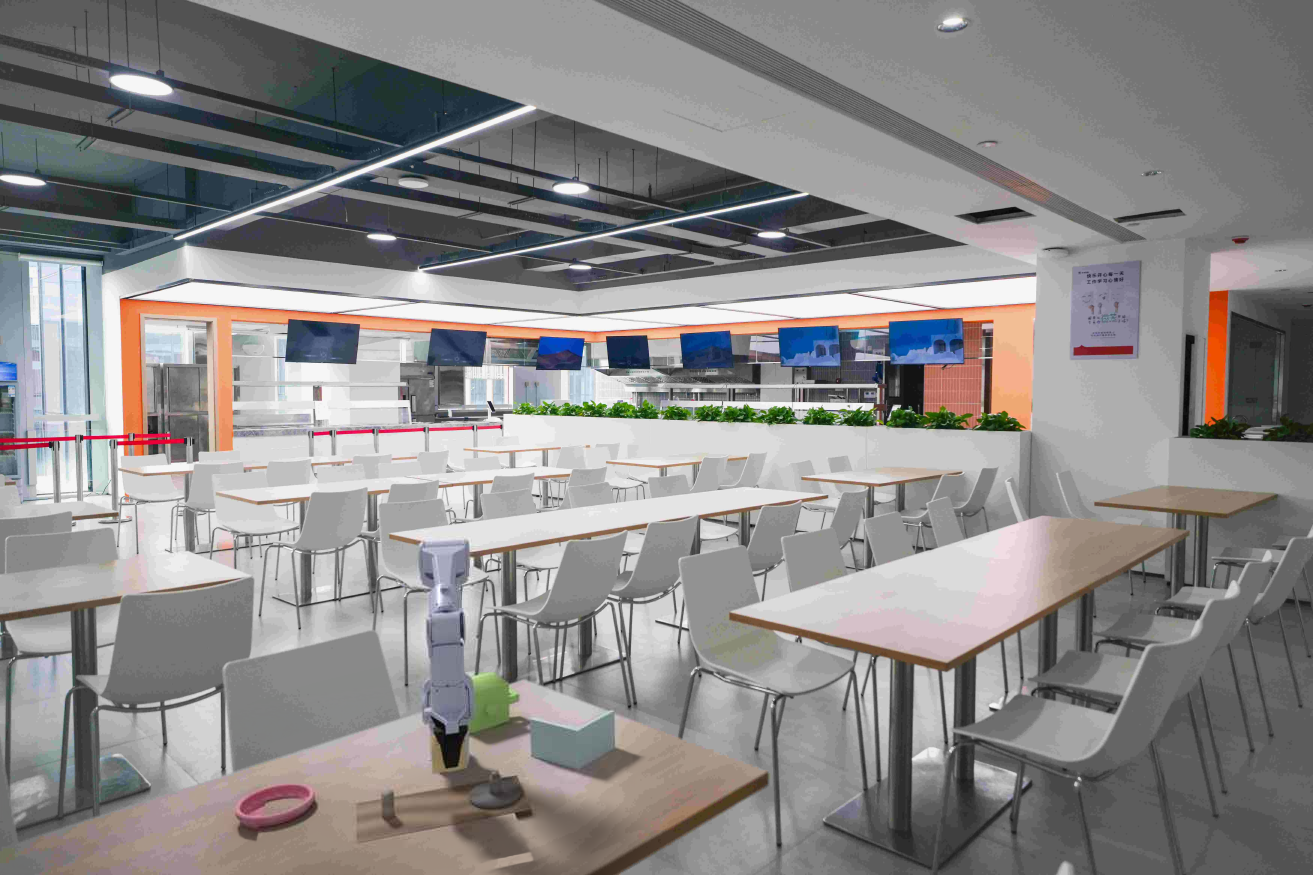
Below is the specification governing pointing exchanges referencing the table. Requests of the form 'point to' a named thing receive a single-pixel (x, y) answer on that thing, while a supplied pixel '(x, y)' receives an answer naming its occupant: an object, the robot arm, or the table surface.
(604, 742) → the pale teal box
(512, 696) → the lime green knobbly part
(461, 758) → the collar
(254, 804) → the pink ring
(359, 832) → the board
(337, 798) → the table surface
